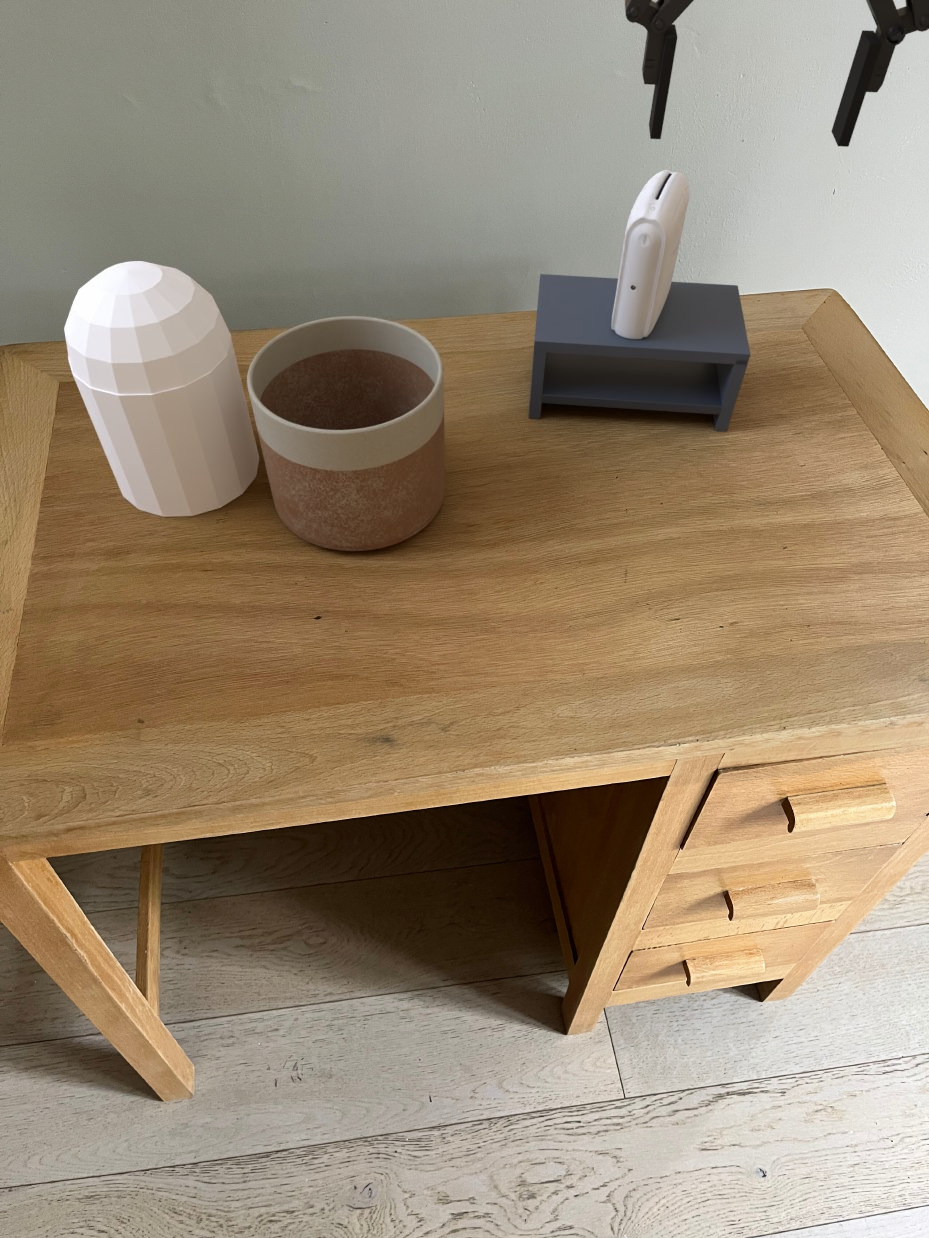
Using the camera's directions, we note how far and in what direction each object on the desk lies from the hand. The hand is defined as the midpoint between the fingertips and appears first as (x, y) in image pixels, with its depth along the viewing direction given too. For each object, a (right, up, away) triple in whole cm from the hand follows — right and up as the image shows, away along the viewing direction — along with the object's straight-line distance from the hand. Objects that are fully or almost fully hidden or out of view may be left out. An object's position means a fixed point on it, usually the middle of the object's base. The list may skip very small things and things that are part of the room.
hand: (746, 136), depth 64 cm
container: (-47, -22, +19) cm, 55 cm away
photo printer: (-4, -6, +20) cm, 21 cm away
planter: (-31, -25, +16) cm, 43 cm away
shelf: (-4, -12, +27) cm, 29 cm away
